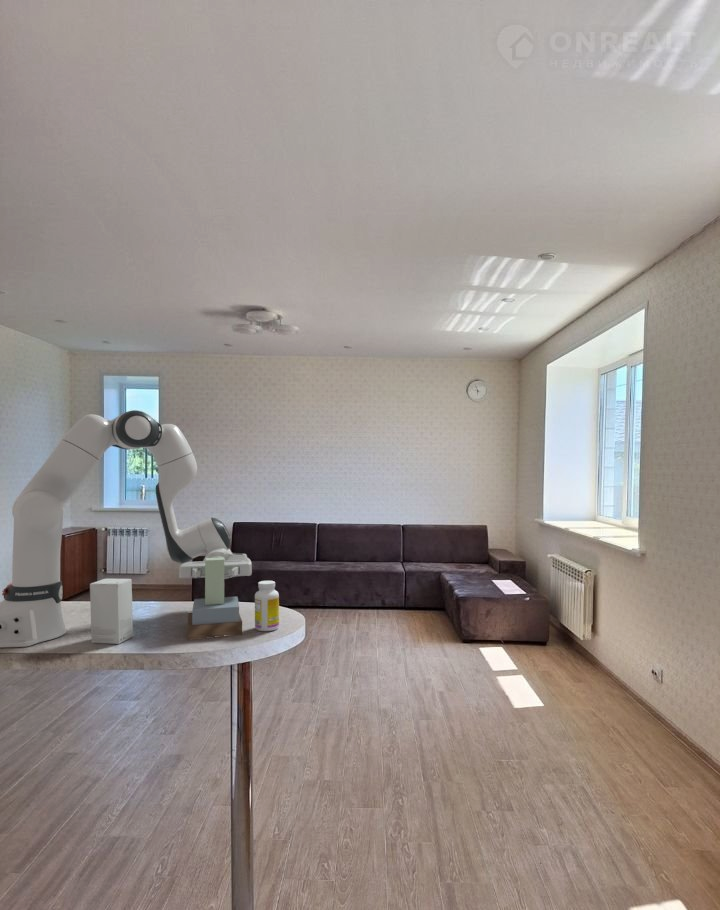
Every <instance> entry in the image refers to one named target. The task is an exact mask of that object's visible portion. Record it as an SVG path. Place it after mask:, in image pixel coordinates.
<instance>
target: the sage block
mask: <svg viewBox="0 0 720 910" xmlns="http://www.w3.org/2000/svg"><path fill="white" fill-rule="evenodd" d="M204 581H205V582H204V584H205V585H204V598H205V605H213V604H224V597H225V579H224V557H219V558H206V560H205V578H204Z"/></svg>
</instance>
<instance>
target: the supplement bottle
mask: <svg viewBox="0 0 720 910" xmlns="http://www.w3.org/2000/svg"><path fill="white" fill-rule="evenodd" d="M257 584H258V586H257V587H258V591H256V592H255V594H254V628H255V630H257V631H259V632H271V631H272V632H273V631H276V630H277V629H279V627H280V595H279V591H277V590H276V589H275V588H276V582H275V581H273V580H261V581H259V582H257Z"/></svg>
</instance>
